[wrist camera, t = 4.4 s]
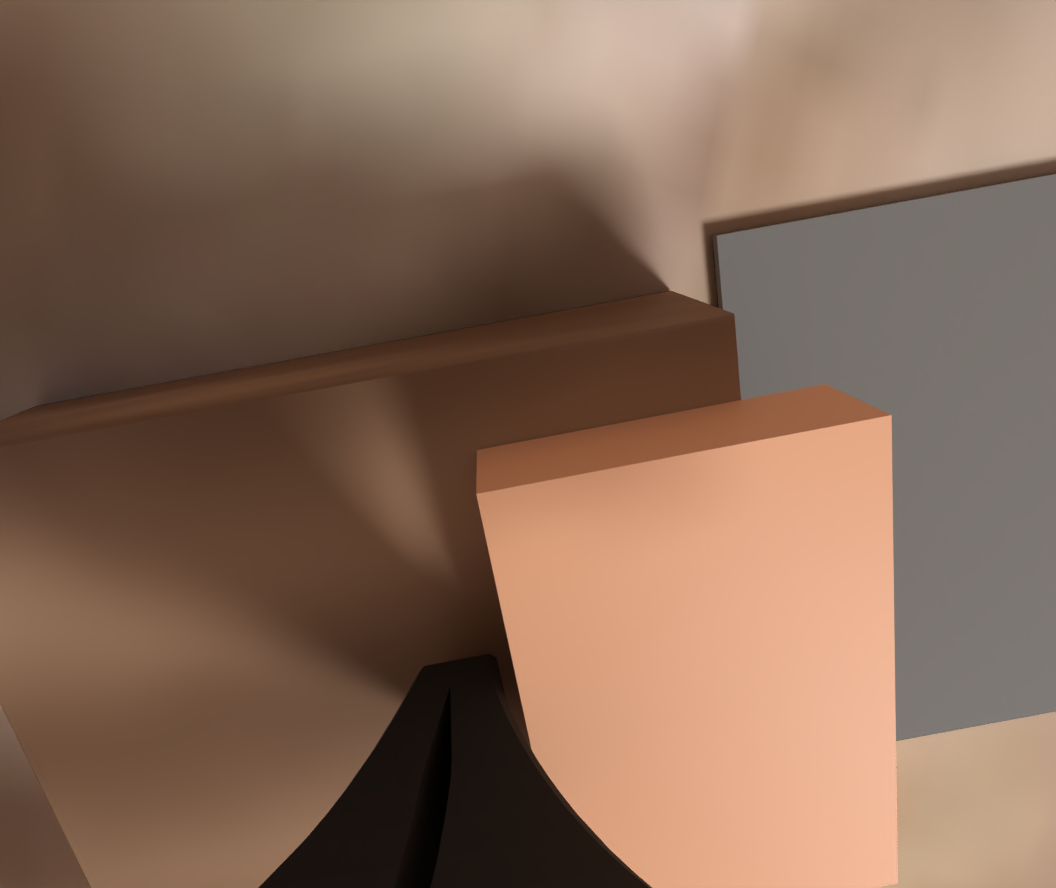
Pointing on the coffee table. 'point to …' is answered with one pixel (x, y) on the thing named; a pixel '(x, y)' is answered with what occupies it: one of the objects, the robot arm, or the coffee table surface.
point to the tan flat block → (282, 568)
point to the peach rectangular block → (710, 635)
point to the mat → (933, 417)
